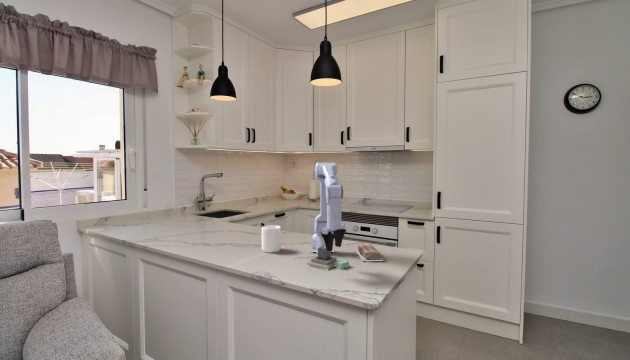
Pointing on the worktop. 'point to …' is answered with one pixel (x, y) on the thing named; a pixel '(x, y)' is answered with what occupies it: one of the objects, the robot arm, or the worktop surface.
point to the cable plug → (341, 263)
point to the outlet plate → (323, 262)
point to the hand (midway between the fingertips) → (333, 248)
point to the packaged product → (369, 252)
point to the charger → (324, 253)
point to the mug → (271, 238)
